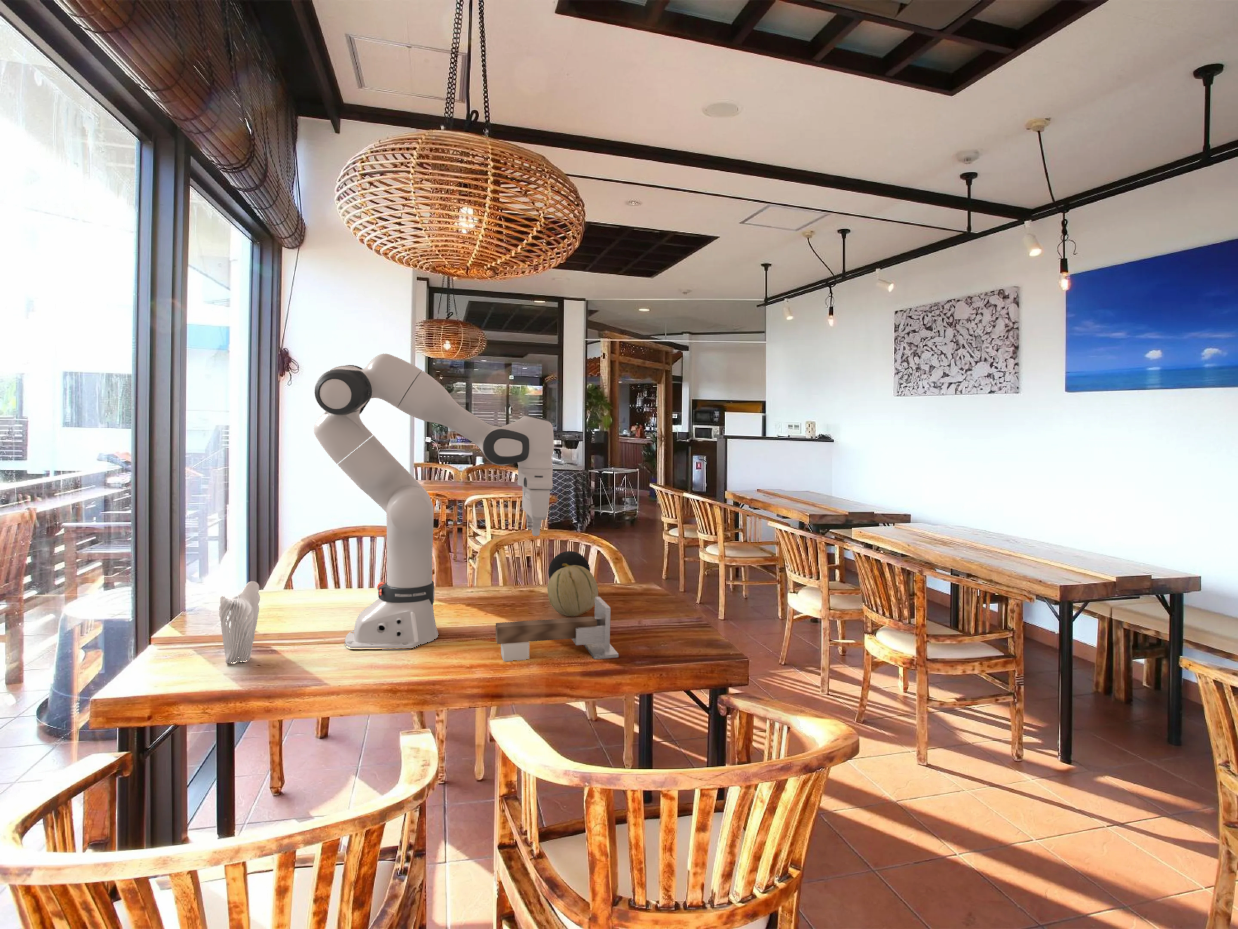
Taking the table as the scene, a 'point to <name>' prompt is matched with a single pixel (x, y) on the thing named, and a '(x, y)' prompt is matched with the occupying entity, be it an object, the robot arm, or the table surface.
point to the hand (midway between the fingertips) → (532, 532)
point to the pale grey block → (515, 651)
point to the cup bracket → (597, 633)
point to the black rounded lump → (567, 561)
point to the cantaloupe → (572, 590)
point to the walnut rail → (540, 629)
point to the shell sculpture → (239, 622)
